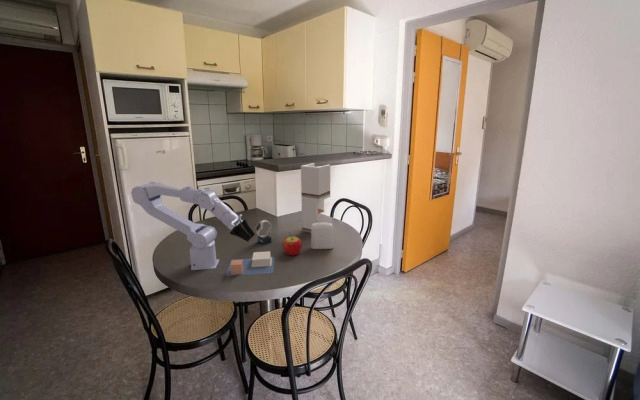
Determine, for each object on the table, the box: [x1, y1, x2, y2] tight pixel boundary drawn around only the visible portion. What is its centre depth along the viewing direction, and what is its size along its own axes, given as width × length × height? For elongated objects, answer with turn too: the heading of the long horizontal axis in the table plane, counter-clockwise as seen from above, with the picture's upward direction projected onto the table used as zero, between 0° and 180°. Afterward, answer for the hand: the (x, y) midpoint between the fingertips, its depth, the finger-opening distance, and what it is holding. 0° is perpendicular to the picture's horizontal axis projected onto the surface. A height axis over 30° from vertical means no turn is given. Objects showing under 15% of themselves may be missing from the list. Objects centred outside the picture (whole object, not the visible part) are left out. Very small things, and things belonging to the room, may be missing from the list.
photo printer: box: [310, 221, 335, 250], centre depth 138 cm, size 10×4×12 cm, turn 89°
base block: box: [251, 250, 272, 266], centre depth 125 cm, size 7×7×3 cm
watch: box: [254, 219, 273, 245], centre depth 145 cm, size 6×8×11 cm
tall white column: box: [300, 162, 331, 234], centre depth 159 cm, size 11×11×35 cm
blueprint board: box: [225, 256, 275, 277], centre depth 122 cm, size 18×14×1 cm
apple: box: [282, 232, 303, 256], centre depth 132 cm, size 8×8×10 cm
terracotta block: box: [230, 259, 243, 275], centre depth 117 cm, size 4×4×4 cm
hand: (251, 237), depth 117 cm, fingers open, 7 cm apart
